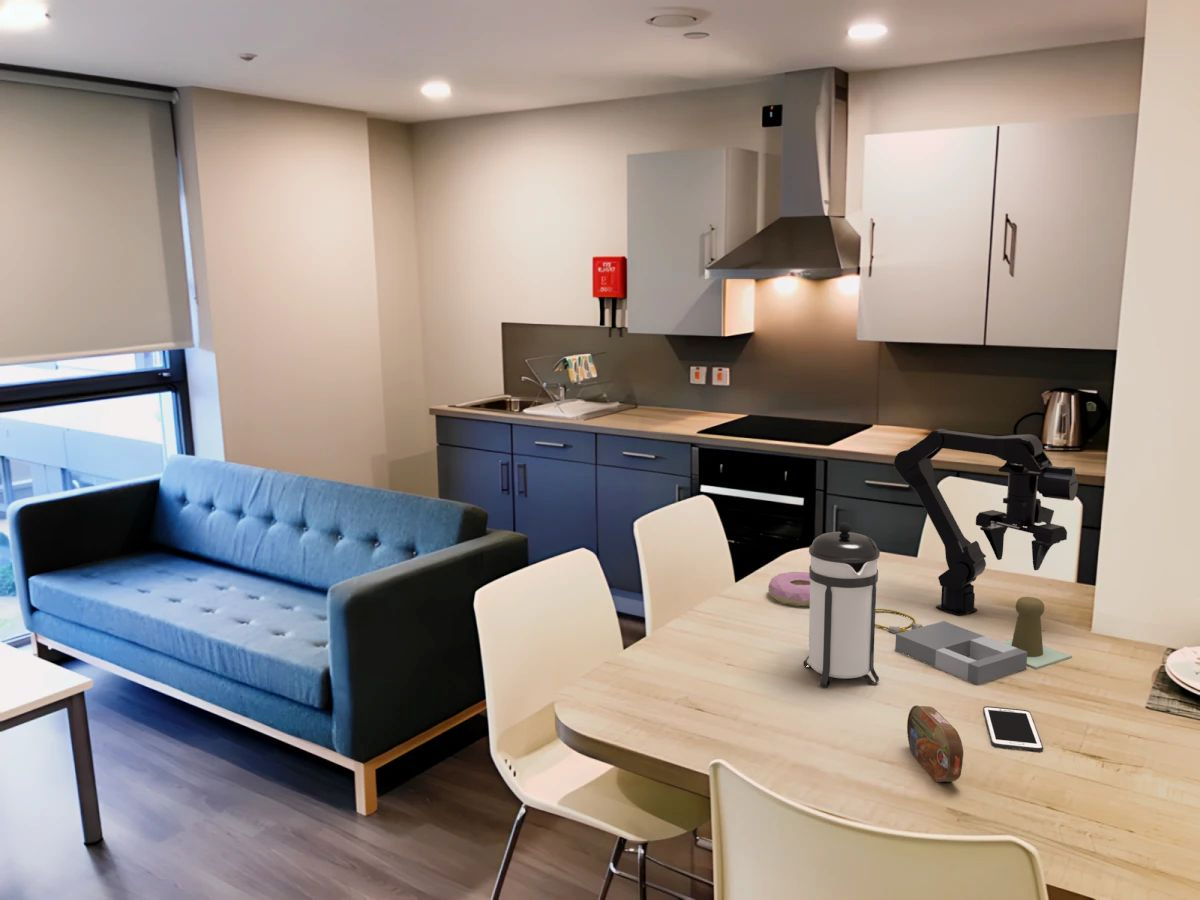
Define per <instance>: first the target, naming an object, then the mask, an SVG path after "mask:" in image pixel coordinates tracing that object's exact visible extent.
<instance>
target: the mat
mask: <svg viewBox="0 0 1200 900" xmlns="http://www.w3.org/2000/svg"><path fill="white" fill-rule="evenodd" d="M1012 640H1013V638H1011V639H1009V640H1004V641H1001V642H1002V643H1005V644H1008V645H1010V646H1011V645H1012ZM1071 658H1073V655H1071V654H1069V653H1065V652H1063V651H1060V650H1057V649H1054V648H1052V647H1049V646H1046V645H1043V655H1042V656H1039V657H1027V667H1030V668H1032V669H1034V670H1038V669H1041V668H1045V667H1047V666H1050V665H1053V664H1056V663H1059V662H1062V661H1065V660H1068V659H1071Z"/></svg>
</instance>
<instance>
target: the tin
mask: <svg viewBox="0 0 1200 900" xmlns="http://www.w3.org/2000/svg"><path fill="white" fill-rule="evenodd" d="M906 721H907V723H906V728H907V729H906V733H907V740H908V741H907V742H908V746H909V749H910V751H911V753H912V755H913V758H915V759H916V760H917V762H918V763H919V764H920V765H921V766H922V767H923V768H924V769H925V771H926V772H927V774H929V776H930V777H931V778H932V779H933V780H934V781H936V782H937V783H942V782H947V783H948V782H956V781H957V780H959V779H960V777H961V775H962V769H963V759H964V747H963V746H964V745H963V742H962V738H961V736H960V734H959V733H958V731H957V729H956V728H955V727H954V726H953V725H952V724H951V723H950V722H949V721H948V720H947V719H946V718H945V717H944V716H943V715H942V714H941V713H940V712H938V710H937V709H936V708H934V707H933V706H925V705H924V706H923V705H913V706H912V707H911V708H910V710H909V712H908V716H907V720H906Z"/></svg>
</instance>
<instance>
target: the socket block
mask: <svg viewBox="0 0 1200 900" xmlns="http://www.w3.org/2000/svg"><path fill="white" fill-rule="evenodd" d="M908 630H909V631H905V632H901V633H898V634H895V644H894V645H895V646H894V647H895V648H894V651H896V652H898V651H899V652H898V653H900V652H901V653H900V654H903V653H904V654H903V655H905V654H906V655H905V656H907V655H909V656H908V657H910V656H911V657H910V658H912V657H913V659H915V660H917V659H918V661H919V660H920V662H921V663H924V662H925V663H924V664H926V663H927V665H929V666H931V665H932V667H933V666H934V667H935V668H936V669H938V668H939V669H938V670H941V671H944V672H945V671H946V672H945V673H947V674H950V675H952V674H953V676H955V677H957V678H960V679H962V680H965V681H967V682H970V683H972V684H974V685H977V686H978V685H982V684H984V683H988V682H992V681H993V680H996V679H1000V678H1003V677H1005V676H1009V675H1012V674H1016V673H1019V672H1022V671H1024V670H1027V667H1028V666H1027V651H1024V650H1021V649H1018V648H1016V647H1013V646H1010V645H1008V644H1005V643H1002V642H1003V641H999V640H996V639H993V638H991V637H988V636H986V635H982V634H980V633H979V632H975V631H972V630H969V629H966V628H964V627H961V626H957V625H955V624H953V623H950V622H948V621H944V620H942V621H939V622H936V623H932V624H929V625H923V627H920V628H916V629H913V628H912V629H908Z"/></svg>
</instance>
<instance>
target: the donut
mask: <svg viewBox="0 0 1200 900" xmlns="http://www.w3.org/2000/svg"><path fill="white" fill-rule="evenodd" d="M768 592H769V595H770V597H771V598H773V599H775V600H776V601H778V602H779V603H781V604H782V603H783V604H782V605H786V604H789V605H788V606H793V605H796V606H795V607H799V606H806V607H810V577H809V571H807V572H806V571H789V572H784V573H783V572H782V573H778V574H776V575H775V576H773V577H772V578H771V580H770V581H769V583H768Z"/></svg>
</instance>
